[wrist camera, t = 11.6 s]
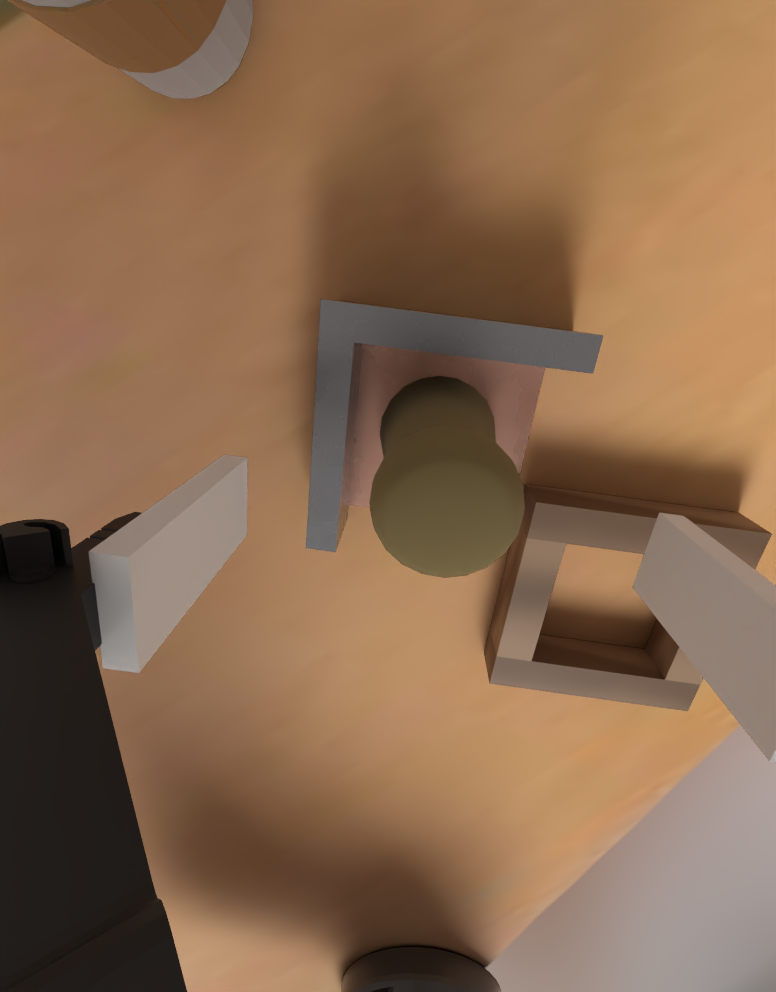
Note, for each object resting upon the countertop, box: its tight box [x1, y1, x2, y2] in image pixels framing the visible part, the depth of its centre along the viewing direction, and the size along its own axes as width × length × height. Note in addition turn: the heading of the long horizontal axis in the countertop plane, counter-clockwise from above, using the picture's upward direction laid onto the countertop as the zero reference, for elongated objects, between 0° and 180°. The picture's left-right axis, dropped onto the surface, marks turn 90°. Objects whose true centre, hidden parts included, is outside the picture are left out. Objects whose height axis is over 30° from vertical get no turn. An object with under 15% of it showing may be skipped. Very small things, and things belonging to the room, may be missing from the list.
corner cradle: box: [306, 299, 603, 552], centre depth 23 cm, size 12×12×4 cm
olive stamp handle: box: [369, 376, 525, 578], centre depth 20 cm, size 6×6×11 cm
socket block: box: [484, 484, 772, 711], centre depth 27 cm, size 12×12×3 cm
